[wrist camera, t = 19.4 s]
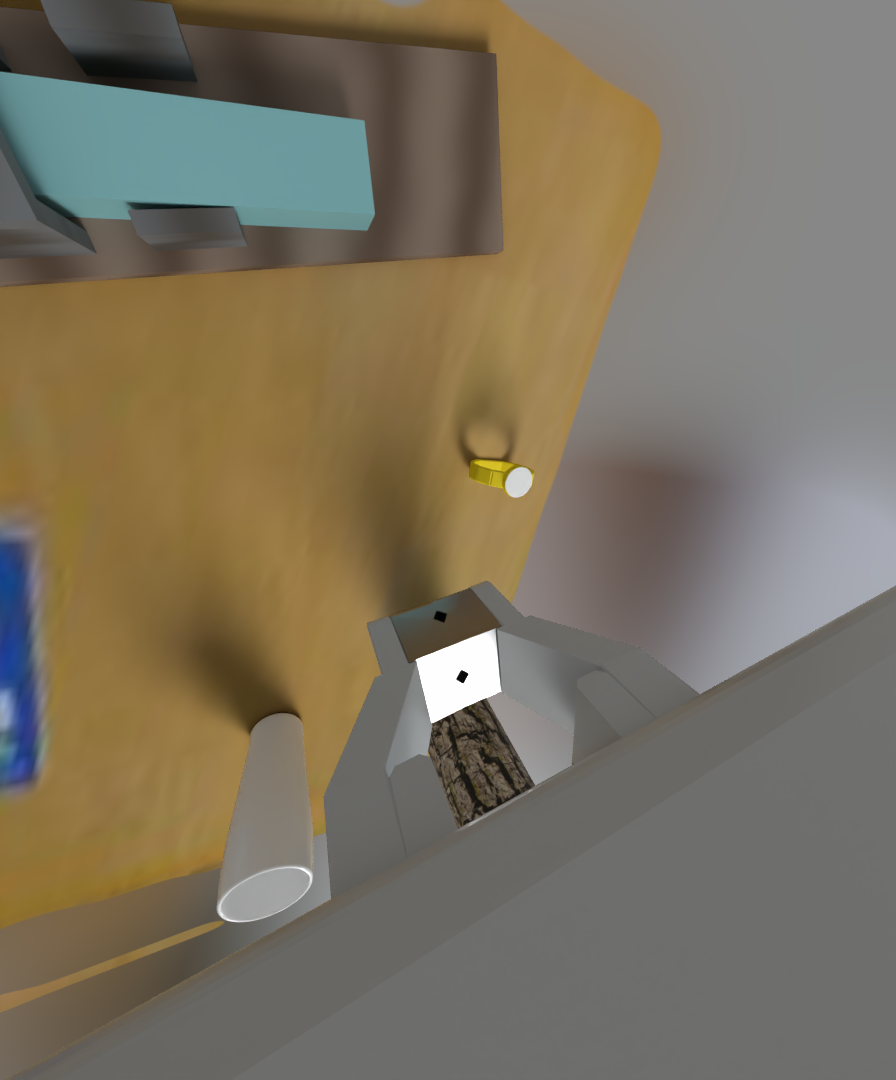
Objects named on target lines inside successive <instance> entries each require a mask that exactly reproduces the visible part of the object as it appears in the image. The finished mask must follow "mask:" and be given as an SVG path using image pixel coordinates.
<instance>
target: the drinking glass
mask: <svg viewBox="0 0 896 1080" xmlns="http://www.w3.org/2000/svg"><path fill="white" fill-rule="evenodd" d="M312 880H313V825H312V813H311V803H310V795H309V786H308V777H307V768H306V759H305V749H304V730H303V724H302V722H301V720H300V719H299V718H298V717H297V716H295V715H293V714H289V713H277V714H273V715H270V716H267V717H265V718H263V719H262V720H260V721H259V722H258V723H257V724H256V725H255V726H254V728H253V729H252V731H251V734H250V739H249V746H248V752H247V756H246V760H245V765H244V769H243V773H242V777H241V781H240V786H239V790H238V794H237V798H236V802H235V806H234V810H233V814H232V819H231V823H230V827H229V831H228V835H227V840H226V845H225V850H224V856H223V861H222V868H221V875H220V882H219V892H218V901H217V912H218V914H219V915H220V917H222V918H223V919H225V920H227V921H232V922H248V921H253V920H258V919H262V918H265V917H268V916H271V915H273V914H276V913H278V912H280V911H282V910H284V909H286V908H287V907H289V906H290V905H292V904H293V903H295V902H296V901H297V900H299V899H300V898H301V897H302V896H303V895H304V894H305V893H306V892H307V890H308V889H309V887H310V885H311V883H312Z"/></svg>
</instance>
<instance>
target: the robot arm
mask: <svg viewBox="0 0 896 1080" xmlns="http://www.w3.org/2000/svg"><path fill="white" fill-rule="evenodd" d="M367 628H368V631H369V634H370V637H371V641H372V644H373V647H374V651H375V654H376V657H377V660H378V664H379V667H380V670H381V673H382V675H380V676H377V677H375V679H374V681H373V683H372V686H371V688H370V690H369V693H368V695H367V697H366V700H365V702H364V704H363V707H362V709H361V711H360V713H359V716H358V718H357V720H356V723H355V725H354V727H353V730H352V732H351V734H350V737H349V739H348V741H347V744H346V746H345V748H344V751H343V753H342V755H341V758H340V760H339V762H338V764H337V767H336V769H335V771H334V774H333V776H332V778H331V781H330V783H329V785H328V788H327V790H326V792H325V795H324V809H325V822H326V836H327V849H328V862H329V876H330V890H331V900H329V901H327V902H325V903H323V904H322V905H320V906H318V907H316V908H314V909H313V910H311V911H309V912H307V913H305V914H304V915H302V916H300V917H298V918H296V919H295V920H293V921H291V922H290V923H287V924H286V925H284V926H282V927H280V928H278V929H277V930H275V931H274V932H271V933H270V934H268V935H266V936H264V937H262V938H260V939H259V940H257V941H255V942H253V943H251V944H250V945H248V946H246V947H244V948H242V949H241V950H239V951H237V952H235V953H234V954H232V955H230V956H228V957H226V958H224V959H223V960H221V961H219V962H217V963H215V964H214V965H212V966H210V967H208V968H206V969H205V970H203V971H201V972H199V973H197V974H196V975H194V976H192V977H190V978H189V979H187V980H185V981H183V982H181V983H179V984H178V985H176V986H174V987H172V988H171V989H169V990H167V991H165V992H163V993H162V994H160V995H158V996H156V997H154V998H153V999H151V1000H149V1001H147V1002H145V1003H143V1004H142V1005H140V1006H138V1007H136V1008H134V1009H133V1010H131V1011H129V1012H127V1013H125V1014H124V1015H122V1016H120V1017H118V1018H116V1019H115V1020H113V1021H111V1022H109V1023H108V1024H106V1025H104V1026H102V1027H100V1028H98V1029H97V1030H95V1031H93V1032H91V1033H89V1034H88V1035H86V1036H84V1037H82V1038H80V1039H79V1040H77V1041H75V1042H73V1043H71V1044H70V1045H68V1046H66V1047H64V1048H62V1049H61V1050H59V1051H57V1052H55V1053H53V1054H52V1055H50V1056H48V1057H46V1058H44V1059H43V1060H41V1061H39V1062H37V1063H35V1064H34V1065H32V1066H30V1067H28V1068H26V1069H25V1070H23V1071H21V1072H19V1073H17V1074H16V1075H14V1076H12V1077H10V1078H8V1079H7V1080H896V586H894V587H892V588H890V589H889V590H887V591H885V592H883V593H882V594H880V595H878V596H876V597H874V598H873V599H871V600H869V601H867V602H865V603H864V604H862V605H860V606H858V607H856V608H855V609H853V610H851V611H850V612H847V613H846V614H844V615H842V616H840V617H838V618H837V619H835V620H833V621H831V622H829V623H828V624H826V625H824V626H822V627H820V628H819V629H817V630H815V631H813V632H811V633H810V634H808V635H806V636H804V637H803V638H801V639H799V640H797V641H795V642H793V643H792V644H790V645H788V646H786V647H784V648H783V649H781V650H779V651H777V652H775V653H774V654H772V655H770V656H768V657H766V658H765V659H763V660H761V661H759V662H757V663H756V664H754V665H752V666H750V667H748V668H747V669H745V670H743V671H741V672H739V673H738V674H736V675H734V676H732V677H731V678H729V679H727V680H725V681H724V682H721V683H720V684H718V685H716V686H714V687H712V688H711V689H709V690H707V691H705V692H703V693H702V694H699V693H698V692H696V691H695V690H694V689H693V688H691V687H690V686H689V685H687V684H686V683H685V682H684V681H682V680H681V679H680V678H678V677H677V676H676V675H675V674H673V673H672V672H671V671H670V670H668V669H667V668H666V667H664V666H663V665H662V664H660V663H659V662H658V661H657V660H655V659H654V658H653V657H652V656H650V655H649V654H648V653H647V652H645V651H644V650H643V649H641V648H640V647H637V646H633V645H630V644H626V643H623V642H619V641H616V640H612V639H609V638H605V637H603V636H599V635H596V634H592V633H589V632H585V631H582V630H578V629H575V628H571V627H568V626H565V625H561V624H557V623H554V622H551V621H547V620H544V619H541V618H537V617H534V616H528V617H524V616H523V615H522V614H521V613H520V612H519V611H518V610H517V609H516V608H515V607H514V606H513V605H512V604H511V603H510V602H509V601H508V600H507V599H506V598H505V597H504V596H503V595H502V594H501V593H500V592H499V591H498V590H497V589H496V588H495V587H494V586H493V585H492V584H491V583H490V582H489V581H484V582H482V583H479V584H476V585H474V586H471V587H469V588H468V589H465V590H462V591H460V592H457V593H454V594H451V595H449V596H446V597H443V598H440V599H437V600H435V601H432V602H428V603H425V604H422V605H419V606H416V607H413V608H410V609H407V610H404V611H401V612H398V613H395V614H392V615H389V616H386V617H383V618H380V619H377V620H375V621H372V622H369V623H367ZM501 691H502V693H503V694H505V695H507V696H508V697H510V698H512V699H514V700H516V701H517V702H519V703H521V704H522V705H524V706H526V707H527V708H529V709H531V710H533V711H535V712H536V713H538V714H540V715H541V716H543V717H545V718H547V719H549V720H550V721H552V722H554V723H555V724H557V725H559V726H561V727H562V728H564V729H566V730H568V731H569V732H571V733H573V734H574V739H573V754H572V766H570V767H568V768H566V769H564V770H563V771H561V772H559V773H557V774H556V775H554V776H552V777H550V778H548V779H547V780H545V781H543V782H541V783H539V784H538V785H536V786H534V787H532V788H530V789H529V790H527V791H525V792H523V793H521V794H520V795H518V796H516V797H514V798H512V799H511V800H509V801H507V802H505V803H503V804H502V805H500V806H498V807H496V808H494V809H493V810H491V811H489V812H487V813H485V814H484V815H482V816H480V817H478V818H476V819H475V820H473V821H471V822H469V823H467V824H466V825H464V826H462V827H460V828H457V825H456V823H455V820H454V817H453V815H452V812H451V809H450V807H449V804H448V801H447V799H446V796H445V794H444V791H443V788H442V786H441V783H440V780H439V778H438V775H437V772H436V770H435V767H434V765H433V762H432V759H431V757H428V756H427V755H428V749H429V742H430V736H431V730H432V723H433V722H435V721H437V720H439V719H441V718H443V717H445V716H447V715H449V714H451V713H453V712H455V711H457V710H459V709H461V708H463V707H465V706H468V705H470V704H472V703H475V702H477V701H480V700H482V699H484V698H487V697H489V696H491V695H494V694H496V693H498V692H501Z"/></svg>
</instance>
